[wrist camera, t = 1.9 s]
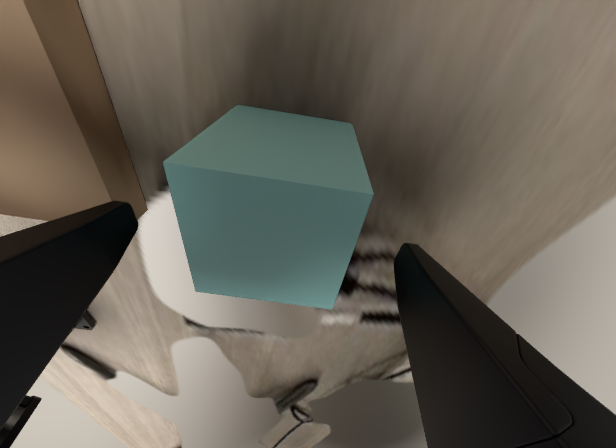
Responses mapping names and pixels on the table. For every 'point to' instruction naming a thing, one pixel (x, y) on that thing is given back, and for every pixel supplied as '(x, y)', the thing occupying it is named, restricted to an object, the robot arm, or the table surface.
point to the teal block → (270, 205)
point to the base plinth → (57, 117)
